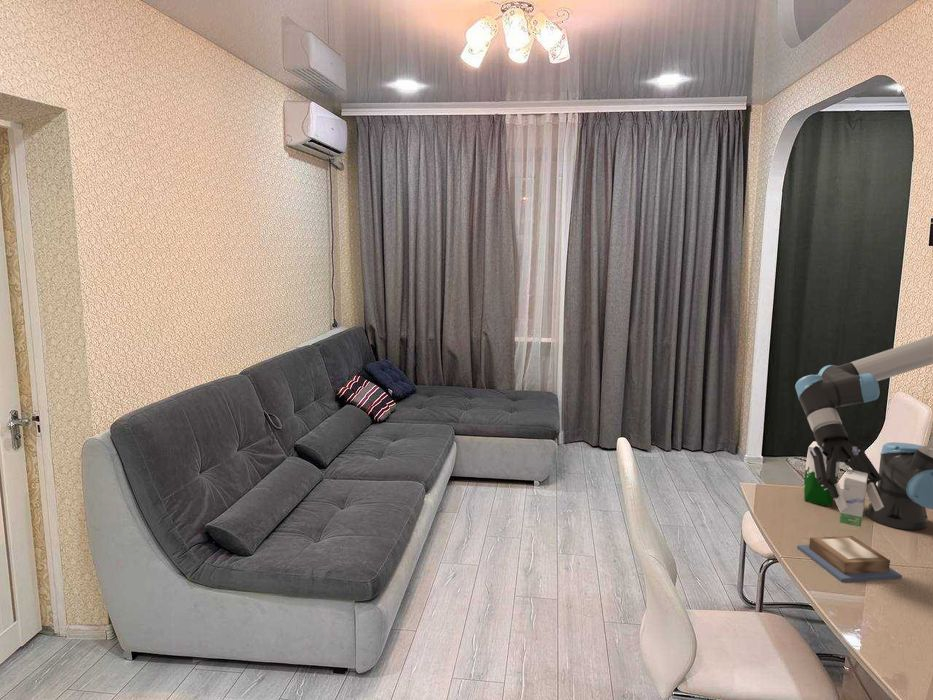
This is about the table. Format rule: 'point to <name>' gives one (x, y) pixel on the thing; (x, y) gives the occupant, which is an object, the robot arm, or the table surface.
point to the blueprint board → (847, 577)
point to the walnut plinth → (849, 555)
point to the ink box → (854, 497)
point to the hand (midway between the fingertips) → (861, 509)
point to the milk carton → (811, 486)
